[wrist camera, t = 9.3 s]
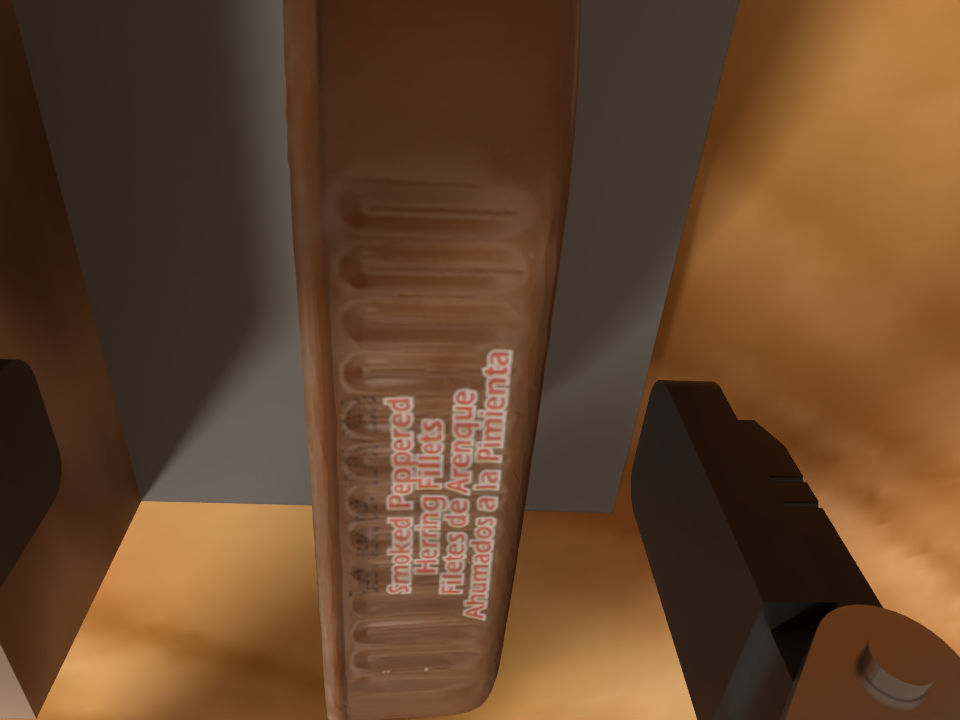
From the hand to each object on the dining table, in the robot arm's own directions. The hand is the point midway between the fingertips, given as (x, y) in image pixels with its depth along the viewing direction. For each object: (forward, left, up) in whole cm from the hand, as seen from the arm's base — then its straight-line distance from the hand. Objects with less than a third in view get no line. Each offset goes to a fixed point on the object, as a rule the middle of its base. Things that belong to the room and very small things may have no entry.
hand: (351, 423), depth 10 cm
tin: (0, -1, -7) cm, 7 cm away
